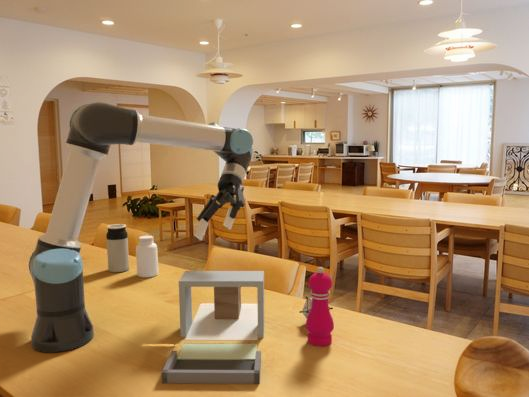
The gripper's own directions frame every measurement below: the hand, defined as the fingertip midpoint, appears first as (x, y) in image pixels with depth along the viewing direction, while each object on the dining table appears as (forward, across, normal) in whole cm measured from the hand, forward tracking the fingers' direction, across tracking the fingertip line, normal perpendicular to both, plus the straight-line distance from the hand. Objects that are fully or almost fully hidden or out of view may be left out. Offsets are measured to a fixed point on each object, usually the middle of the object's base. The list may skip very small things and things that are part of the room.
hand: (212, 232), depth 140 cm
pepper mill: (+25, -25, -27) cm, 44 cm away
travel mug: (-4, +65, -4) cm, 65 cm away
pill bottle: (-2, +52, -10) cm, 53 cm away
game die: (+17, -19, -32) cm, 40 cm away
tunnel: (+22, 0, -15) cm, 26 cm away
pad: (+34, -10, -8) cm, 36 cm away
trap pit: (+42, -16, -4) cm, 45 cm away
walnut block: (+18, +3, -17) cm, 25 cm away
